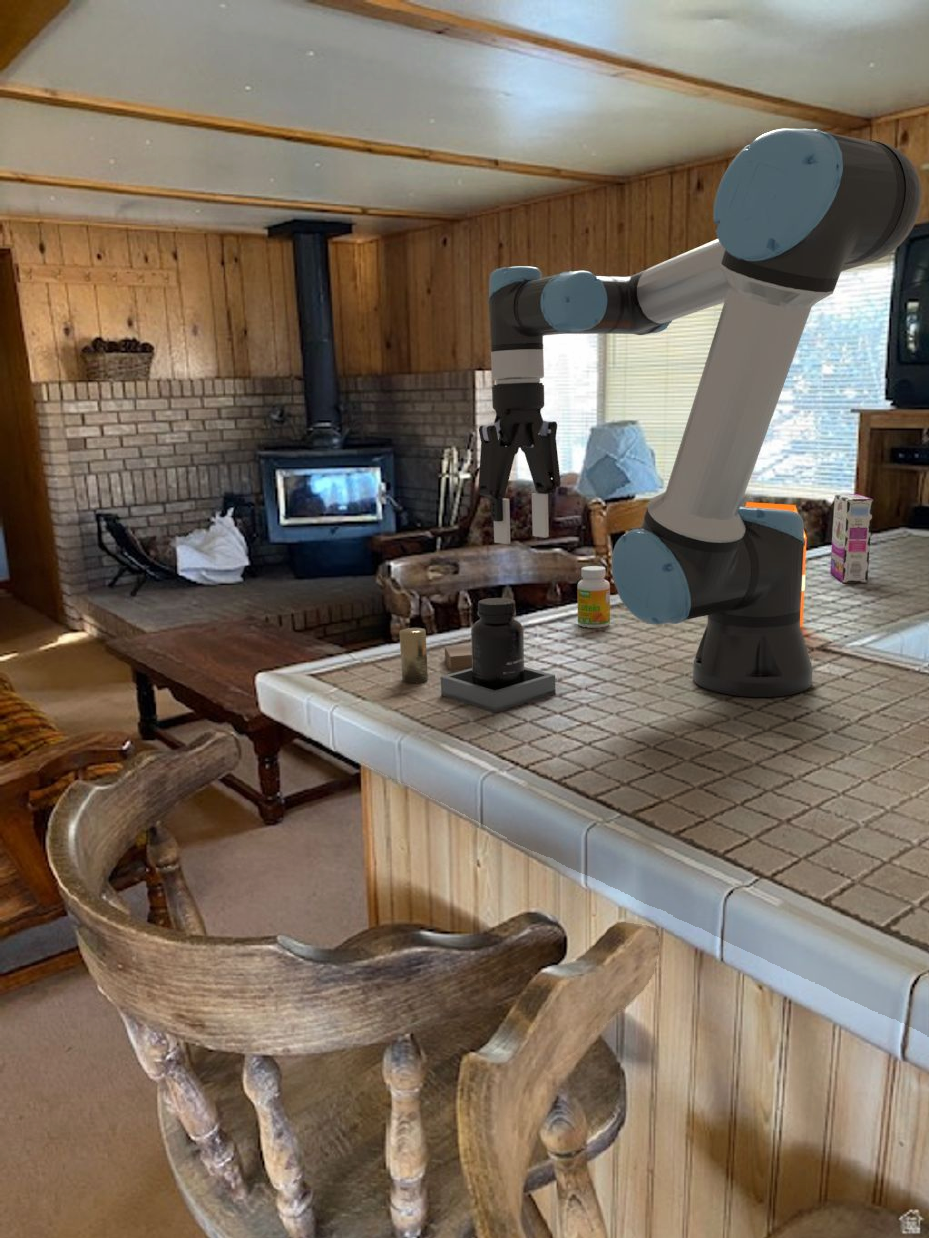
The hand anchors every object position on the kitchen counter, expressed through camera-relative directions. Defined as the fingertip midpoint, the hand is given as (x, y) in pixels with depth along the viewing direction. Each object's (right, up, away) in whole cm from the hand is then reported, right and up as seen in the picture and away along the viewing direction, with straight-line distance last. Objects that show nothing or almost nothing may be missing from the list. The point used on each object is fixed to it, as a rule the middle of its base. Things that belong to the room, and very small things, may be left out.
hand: (521, 539), depth 142 cm
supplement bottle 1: (-4, -22, -17) cm, 28 cm away
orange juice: (+40, -13, +12) cm, 44 cm away
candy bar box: (+68, -4, +48) cm, 83 cm away
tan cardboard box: (-7, -19, -2) cm, 20 cm away
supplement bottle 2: (+13, -13, +18) cm, 26 cm away
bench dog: (-15, -20, -9) cm, 27 cm away
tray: (-4, -22, -17) cm, 28 cm away
